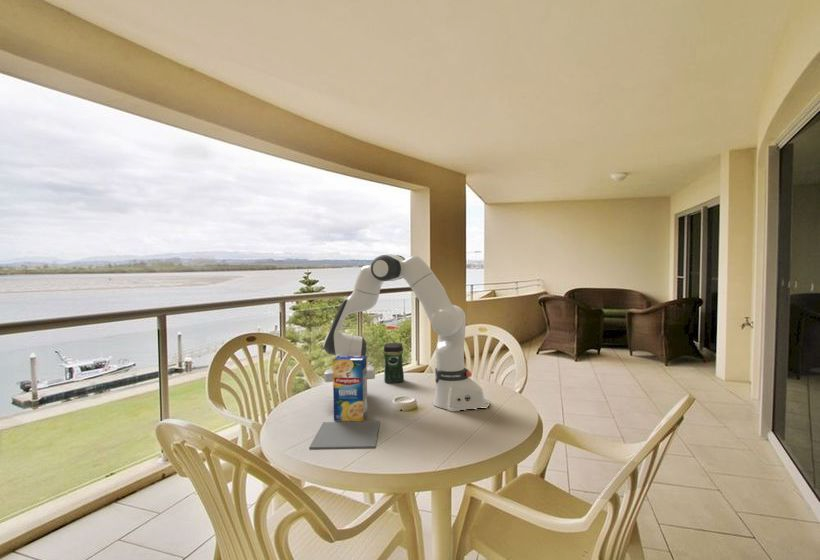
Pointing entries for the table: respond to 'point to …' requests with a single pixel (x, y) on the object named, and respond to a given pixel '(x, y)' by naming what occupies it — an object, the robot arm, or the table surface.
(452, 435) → the table surface
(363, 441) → the mat
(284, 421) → the table surface
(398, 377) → the coffee jar
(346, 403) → the blue cardboard box
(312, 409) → the table surface
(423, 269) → the robot arm
